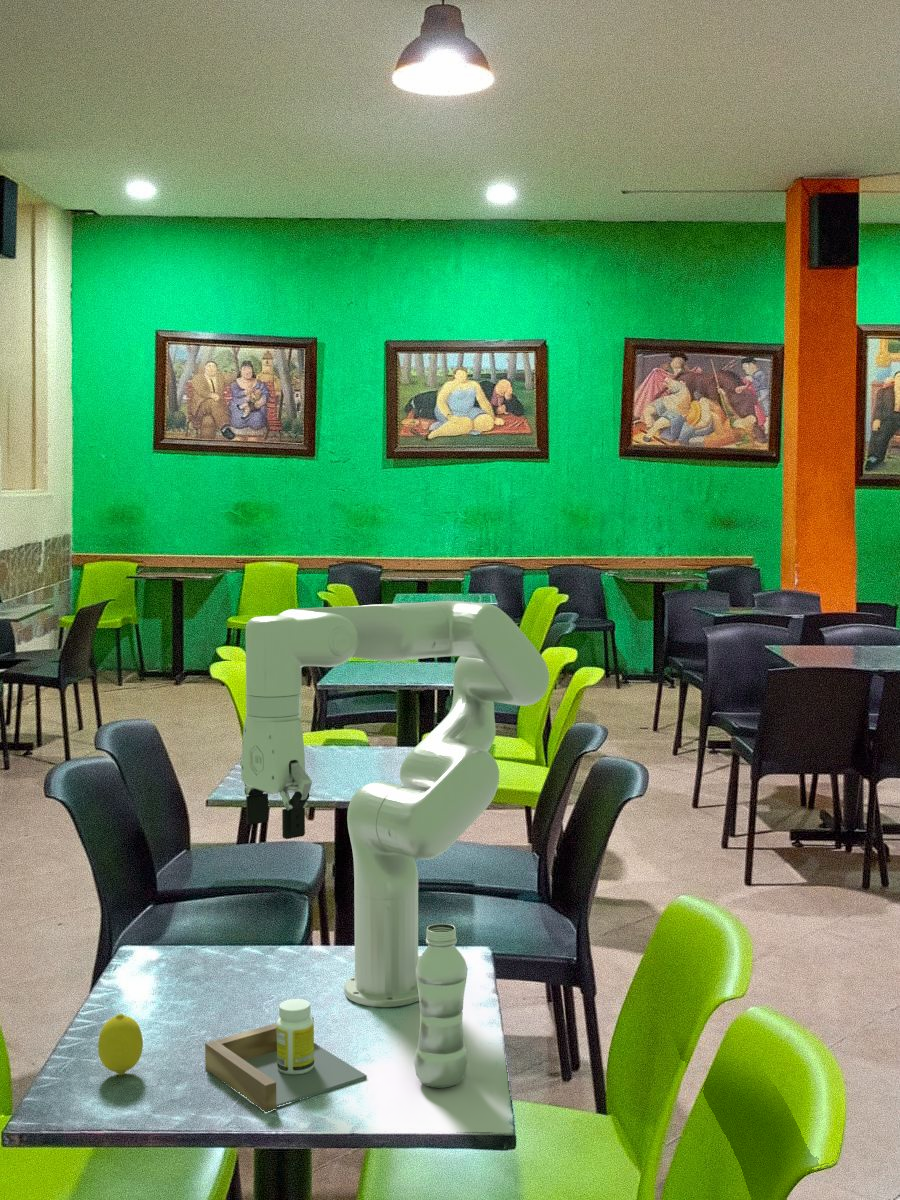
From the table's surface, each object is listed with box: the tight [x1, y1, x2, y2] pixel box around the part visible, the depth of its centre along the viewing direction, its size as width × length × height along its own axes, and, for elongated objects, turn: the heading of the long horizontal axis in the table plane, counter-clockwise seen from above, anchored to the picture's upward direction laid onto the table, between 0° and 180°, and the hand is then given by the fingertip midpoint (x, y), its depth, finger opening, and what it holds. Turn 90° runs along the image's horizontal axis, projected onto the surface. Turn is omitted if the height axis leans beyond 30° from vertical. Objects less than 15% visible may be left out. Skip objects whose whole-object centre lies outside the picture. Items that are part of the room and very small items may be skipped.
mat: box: [245, 1042, 368, 1106], centre depth 166 cm, size 14×14×1 cm
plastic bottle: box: [414, 923, 468, 1089], centre depth 163 cm, size 6×7×20 cm
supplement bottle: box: [276, 998, 315, 1075], centre depth 167 cm, size 5×5×8 cm
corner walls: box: [204, 1015, 315, 1112], centre depth 166 cm, size 16×16×4 cm
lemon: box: [97, 1013, 144, 1076], centre depth 166 cm, size 6×6×8 cm
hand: (275, 829), depth 178 cm, fingers open, 9 cm apart
